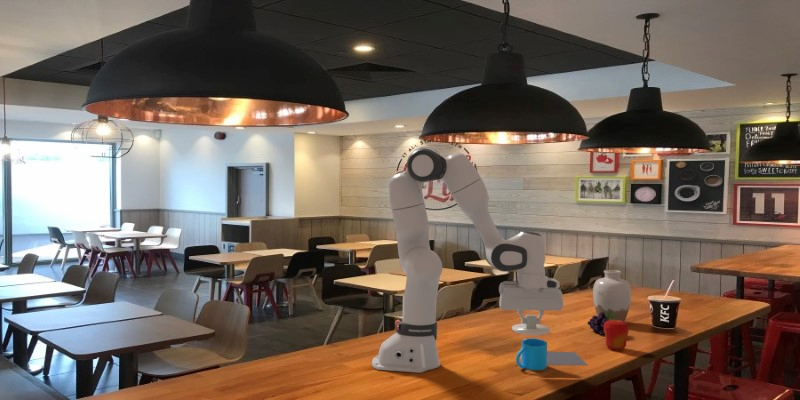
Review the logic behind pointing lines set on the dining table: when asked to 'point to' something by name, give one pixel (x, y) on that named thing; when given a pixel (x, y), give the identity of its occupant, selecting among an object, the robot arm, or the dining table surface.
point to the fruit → (601, 321)
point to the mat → (564, 358)
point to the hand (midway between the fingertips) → (530, 323)
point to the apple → (616, 334)
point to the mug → (533, 354)
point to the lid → (530, 327)
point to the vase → (612, 295)
